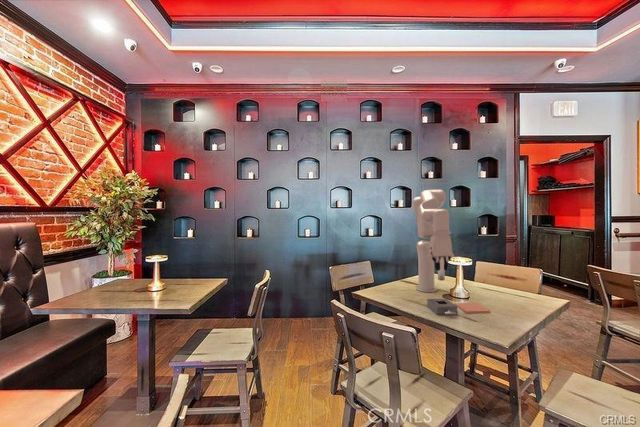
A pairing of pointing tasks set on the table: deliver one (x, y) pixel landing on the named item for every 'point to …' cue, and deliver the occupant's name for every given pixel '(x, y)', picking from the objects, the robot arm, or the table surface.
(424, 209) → the robot arm
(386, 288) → the table surface
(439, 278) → the steel peg
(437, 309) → the vise block
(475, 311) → the terracotta mat
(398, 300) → the table surface
